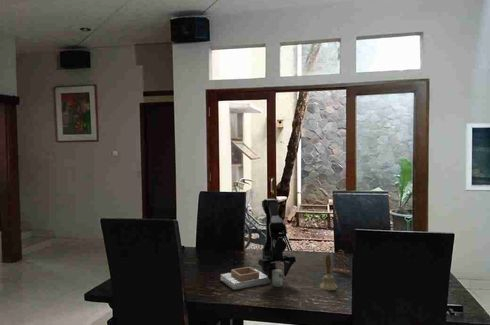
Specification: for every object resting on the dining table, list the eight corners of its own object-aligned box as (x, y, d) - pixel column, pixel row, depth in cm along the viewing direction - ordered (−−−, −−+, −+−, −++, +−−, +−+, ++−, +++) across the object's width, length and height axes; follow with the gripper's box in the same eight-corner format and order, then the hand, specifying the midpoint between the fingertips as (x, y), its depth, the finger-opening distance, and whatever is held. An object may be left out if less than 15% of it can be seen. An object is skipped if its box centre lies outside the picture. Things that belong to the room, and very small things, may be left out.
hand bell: (327, 291, 191) (327, 258, 190) (316, 286, 198) (316, 254, 198) (341, 288, 195) (341, 255, 194) (330, 283, 202) (329, 251, 201)
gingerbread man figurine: (350, 272, 220) (350, 250, 219) (348, 274, 216) (347, 251, 216) (334, 269, 224) (334, 248, 224) (331, 271, 221) (331, 249, 220)
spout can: (279, 282, 204) (279, 268, 204) (286, 286, 198) (286, 272, 198) (270, 284, 202) (270, 270, 202) (277, 288, 196) (277, 274, 196)
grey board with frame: (254, 274, 218) (254, 264, 218) (269, 283, 204) (269, 272, 203) (220, 280, 209) (220, 269, 209) (233, 289, 195) (233, 278, 194)
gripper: (284, 241, 212) (284, 270, 212) (252, 245, 203) (253, 276, 204) (296, 245, 202) (296, 276, 202) (263, 250, 193) (264, 282, 194)
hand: (277, 277), depth 201 cm, fingers open, 9 cm apart
